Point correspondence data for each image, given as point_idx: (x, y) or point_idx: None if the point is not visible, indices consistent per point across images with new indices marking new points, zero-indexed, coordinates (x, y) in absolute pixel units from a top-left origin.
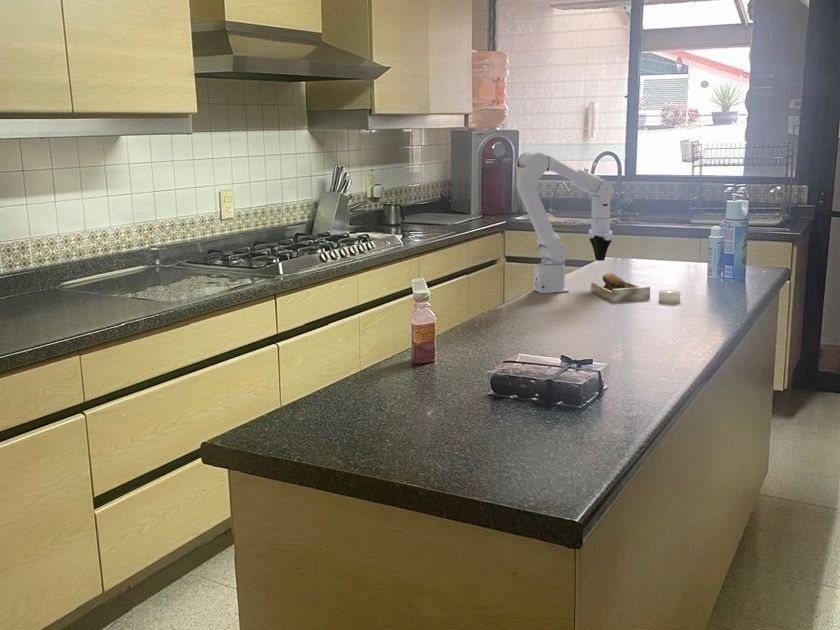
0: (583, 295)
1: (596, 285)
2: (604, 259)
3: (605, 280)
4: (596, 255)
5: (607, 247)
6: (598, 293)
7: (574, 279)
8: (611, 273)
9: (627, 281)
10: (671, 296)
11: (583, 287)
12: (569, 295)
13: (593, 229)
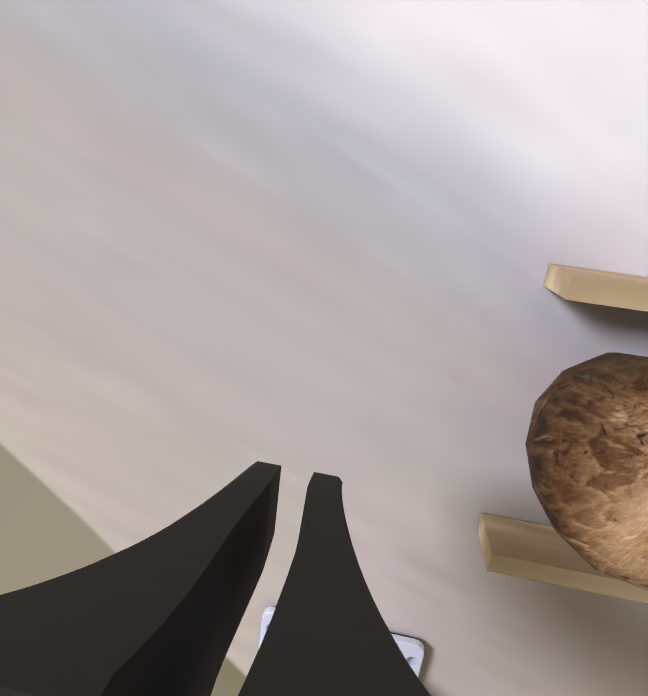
0: (575, 634)
1: (597, 591)
2: (341, 485)
3: None
4: (254, 580)
5: (375, 617)
6: None
7: (27, 388)
8: (646, 517)
9: (613, 280)
10: None
11: None
12: (520, 688)
13: None
